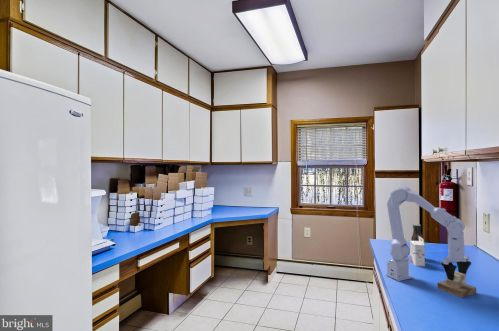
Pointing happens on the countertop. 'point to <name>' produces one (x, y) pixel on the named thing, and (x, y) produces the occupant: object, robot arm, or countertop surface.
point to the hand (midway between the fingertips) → (456, 278)
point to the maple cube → (457, 280)
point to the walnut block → (457, 289)
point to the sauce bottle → (416, 232)
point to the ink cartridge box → (417, 252)
